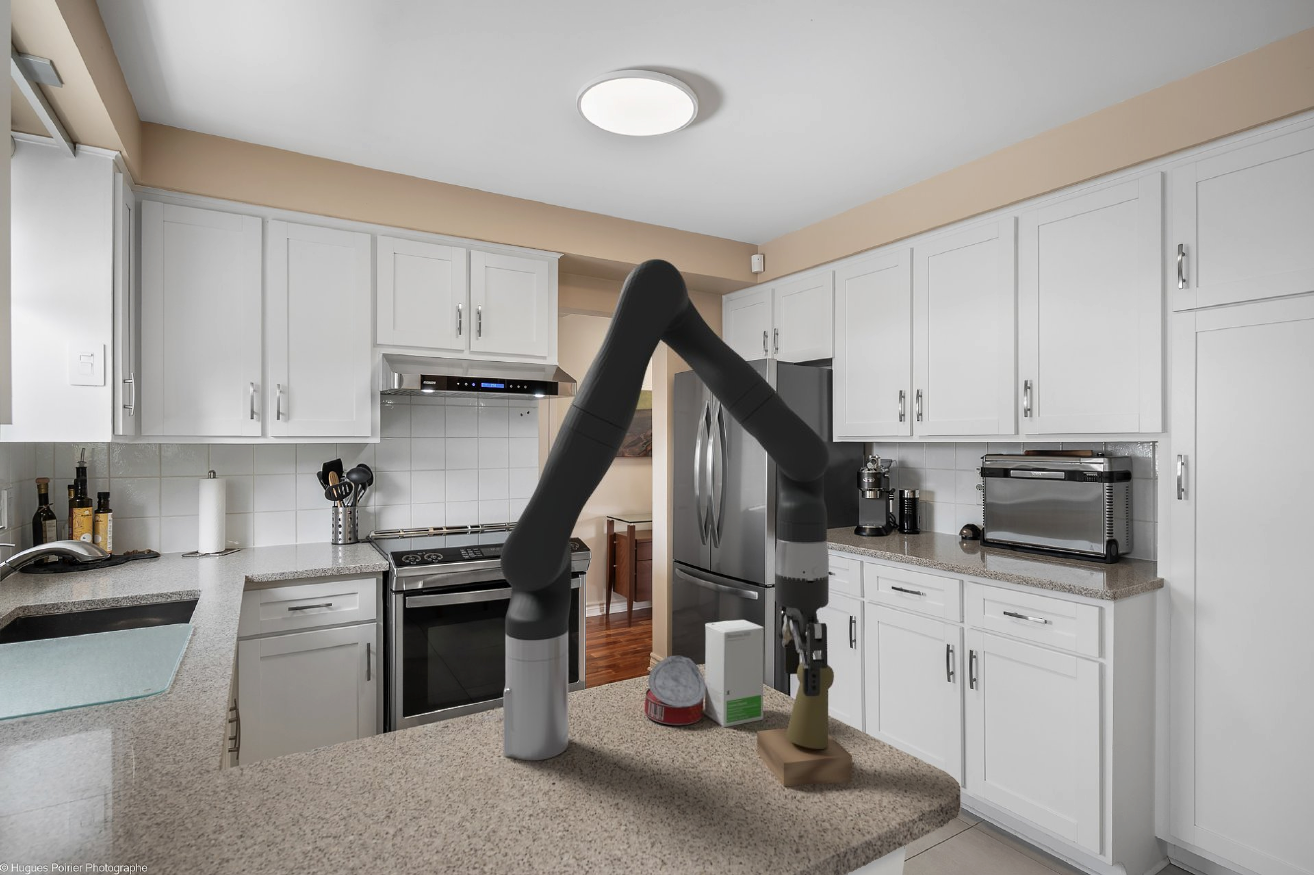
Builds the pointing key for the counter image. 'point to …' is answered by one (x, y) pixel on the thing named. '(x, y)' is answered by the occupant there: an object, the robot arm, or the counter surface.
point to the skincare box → (734, 672)
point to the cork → (811, 713)
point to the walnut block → (803, 760)
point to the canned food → (675, 692)
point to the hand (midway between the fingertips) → (801, 683)
